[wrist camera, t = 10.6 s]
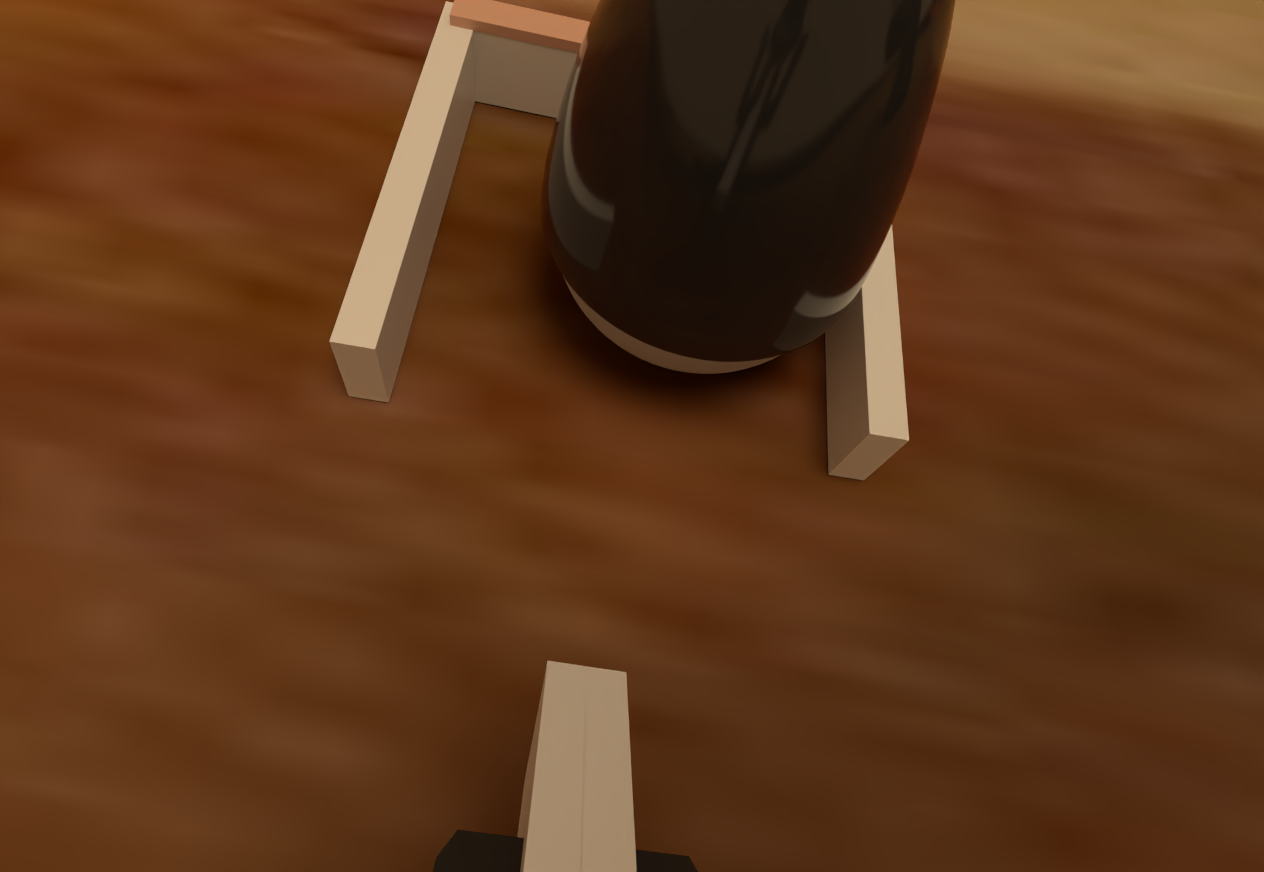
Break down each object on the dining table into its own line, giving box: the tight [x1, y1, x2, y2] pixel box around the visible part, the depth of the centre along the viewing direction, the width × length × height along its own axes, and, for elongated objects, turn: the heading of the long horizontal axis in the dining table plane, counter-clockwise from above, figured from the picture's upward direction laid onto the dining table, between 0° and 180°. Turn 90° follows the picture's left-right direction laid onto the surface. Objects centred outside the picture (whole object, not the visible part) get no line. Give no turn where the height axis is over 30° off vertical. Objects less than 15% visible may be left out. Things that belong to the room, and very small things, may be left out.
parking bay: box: [329, 0, 909, 480], centre depth 25 cm, size 16×15×3 cm
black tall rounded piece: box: [541, 0, 955, 374], centre depth 20 cm, size 10×10×15 cm
